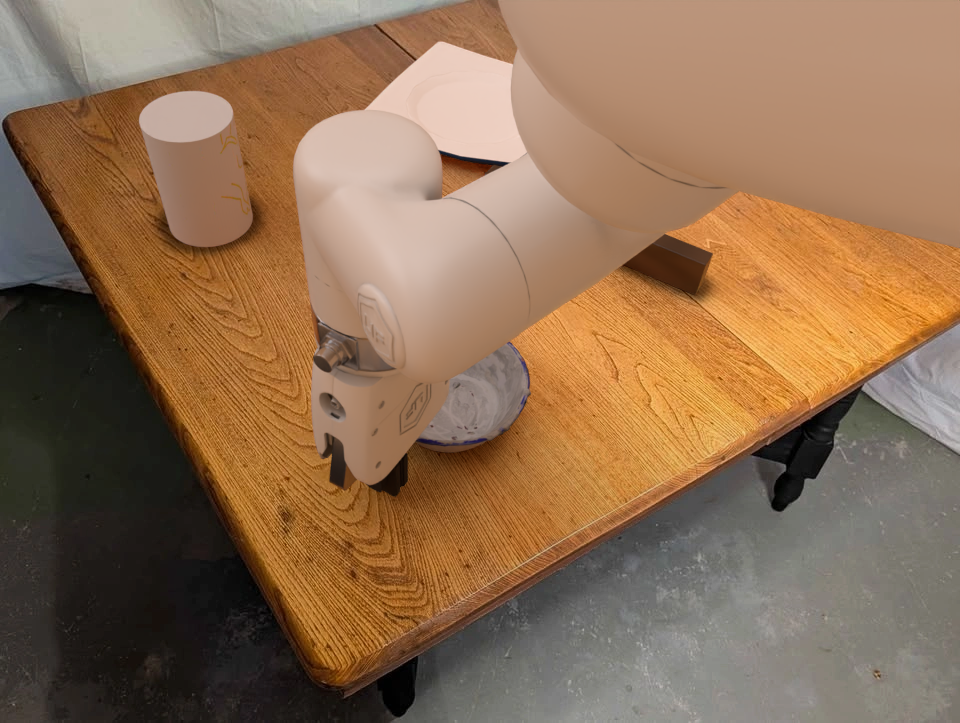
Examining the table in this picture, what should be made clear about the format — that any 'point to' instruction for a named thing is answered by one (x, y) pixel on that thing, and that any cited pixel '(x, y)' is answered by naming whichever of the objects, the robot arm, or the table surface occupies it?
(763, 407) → the table surface
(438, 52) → the plate
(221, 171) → the pink tall cylinder
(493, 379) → the bowl
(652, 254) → the rail
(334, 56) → the table surface
